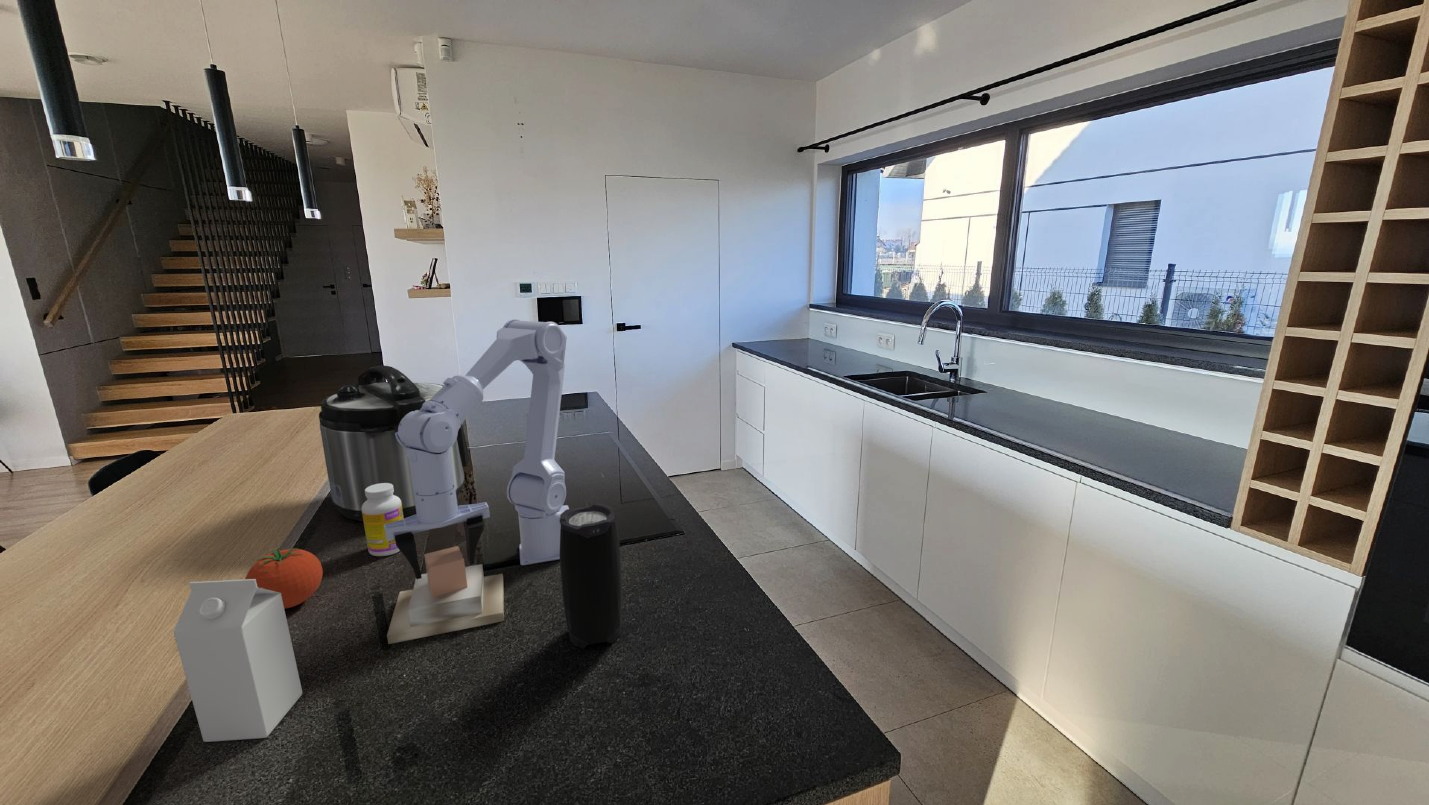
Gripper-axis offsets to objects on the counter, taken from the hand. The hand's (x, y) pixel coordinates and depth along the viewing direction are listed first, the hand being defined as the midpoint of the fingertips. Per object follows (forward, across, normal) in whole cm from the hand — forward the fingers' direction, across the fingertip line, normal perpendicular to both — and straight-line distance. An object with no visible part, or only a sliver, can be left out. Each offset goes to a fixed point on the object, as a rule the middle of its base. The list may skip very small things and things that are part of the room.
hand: (445, 568), depth 91 cm
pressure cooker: (+8, +1, -53) cm, 53 cm away
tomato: (+8, +22, -16) cm, 28 cm away
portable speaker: (+8, -17, +18) cm, 26 cm away
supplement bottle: (+8, +7, -28) cm, 30 cm away
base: (+7, 0, 0) cm, 7 cm away
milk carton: (+8, +24, +11) cm, 28 cm away
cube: (+3, 0, 0) cm, 3 cm away
